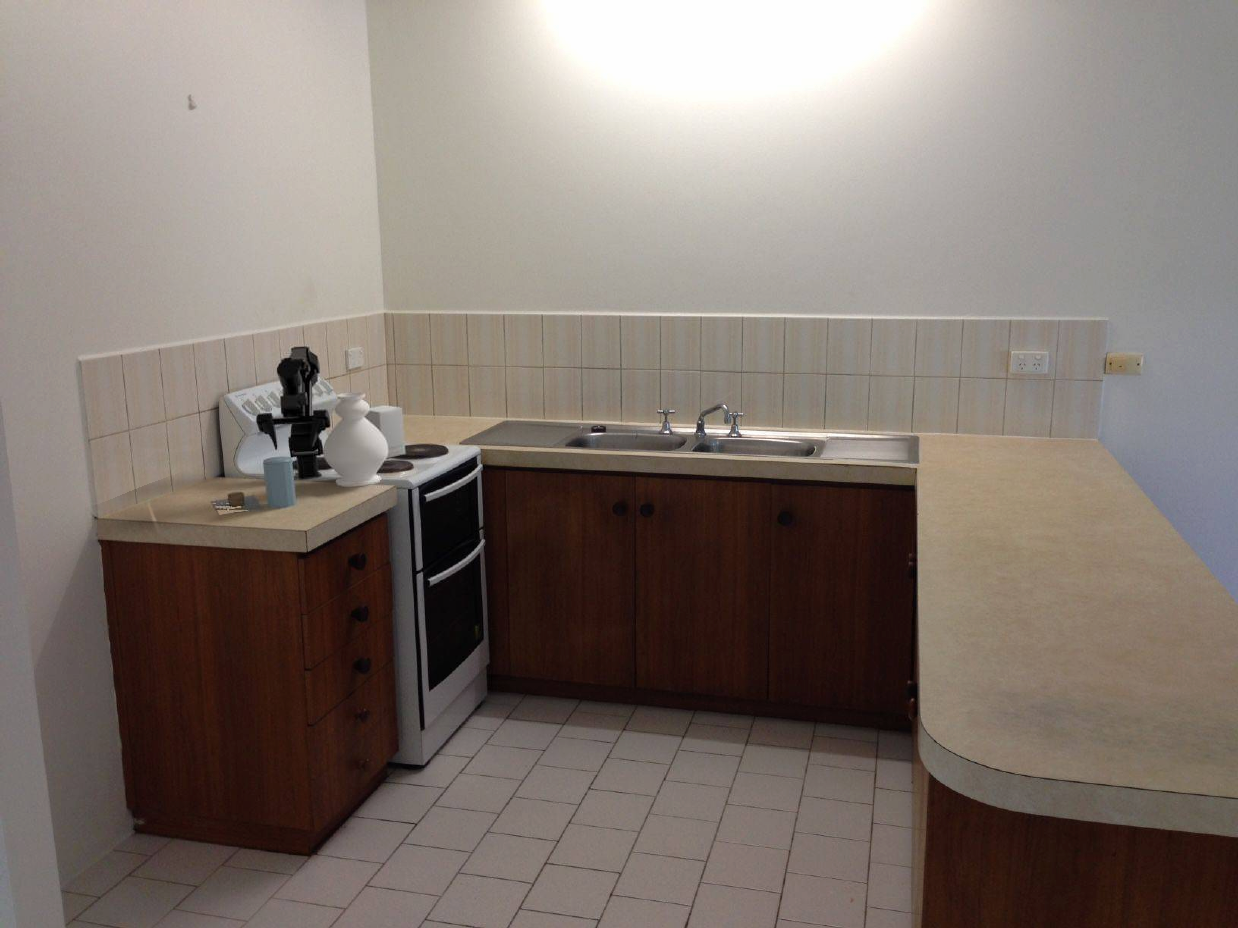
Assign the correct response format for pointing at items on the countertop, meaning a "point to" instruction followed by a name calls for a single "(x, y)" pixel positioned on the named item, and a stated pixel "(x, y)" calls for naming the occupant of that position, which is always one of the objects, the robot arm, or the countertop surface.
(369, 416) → the supplement box
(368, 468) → the decorative vase
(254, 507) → the mat
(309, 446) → the robot arm
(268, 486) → the tumbler
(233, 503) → the brown block
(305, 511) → the countertop surface
